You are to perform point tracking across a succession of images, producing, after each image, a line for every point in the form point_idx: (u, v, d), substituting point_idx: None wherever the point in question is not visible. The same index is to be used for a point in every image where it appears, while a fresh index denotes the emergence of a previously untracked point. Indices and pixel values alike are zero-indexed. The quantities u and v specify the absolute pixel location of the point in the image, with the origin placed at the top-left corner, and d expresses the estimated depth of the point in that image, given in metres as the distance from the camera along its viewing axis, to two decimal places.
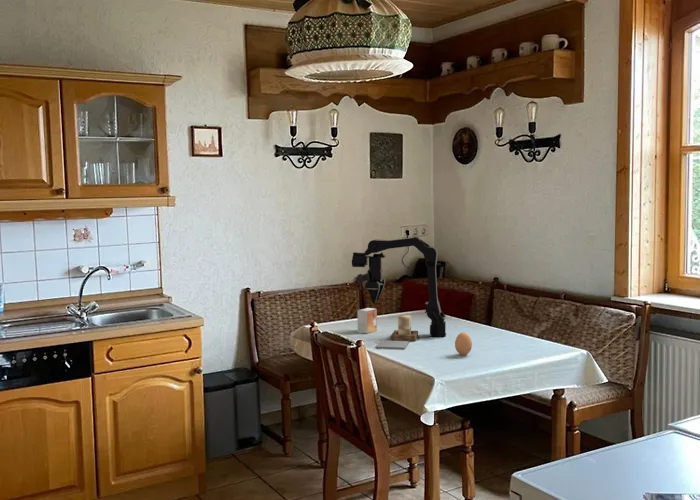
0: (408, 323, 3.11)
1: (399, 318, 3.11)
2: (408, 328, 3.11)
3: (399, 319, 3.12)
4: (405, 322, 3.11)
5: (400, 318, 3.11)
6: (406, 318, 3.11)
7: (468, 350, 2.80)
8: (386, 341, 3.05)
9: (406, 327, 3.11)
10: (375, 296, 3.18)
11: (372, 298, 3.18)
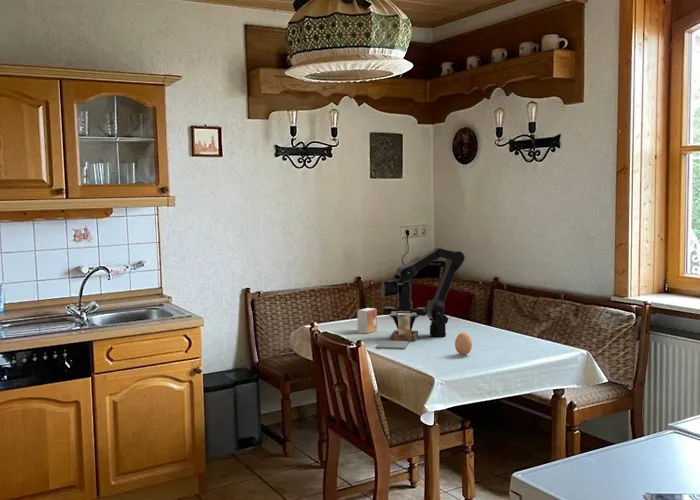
0: (408, 323, 3.11)
1: (399, 318, 3.11)
2: (408, 328, 3.11)
3: (399, 319, 3.12)
4: (405, 322, 3.11)
5: (400, 318, 3.11)
6: (406, 318, 3.11)
7: (468, 350, 2.80)
8: (386, 341, 3.05)
9: (407, 327, 3.11)
10: None
11: None
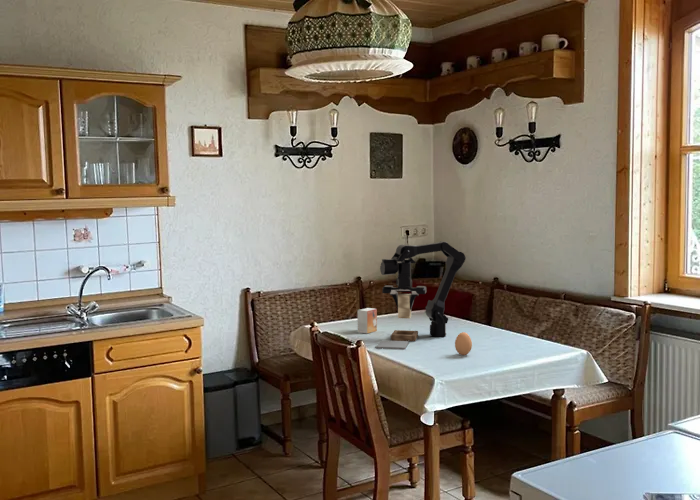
0: (408, 301, 3.10)
1: (399, 296, 3.11)
2: (408, 306, 3.10)
3: (399, 297, 3.11)
4: (405, 300, 3.10)
5: (400, 296, 3.10)
6: (406, 296, 3.10)
7: (468, 350, 2.80)
8: (386, 341, 3.05)
9: (406, 306, 3.10)
10: None
11: None
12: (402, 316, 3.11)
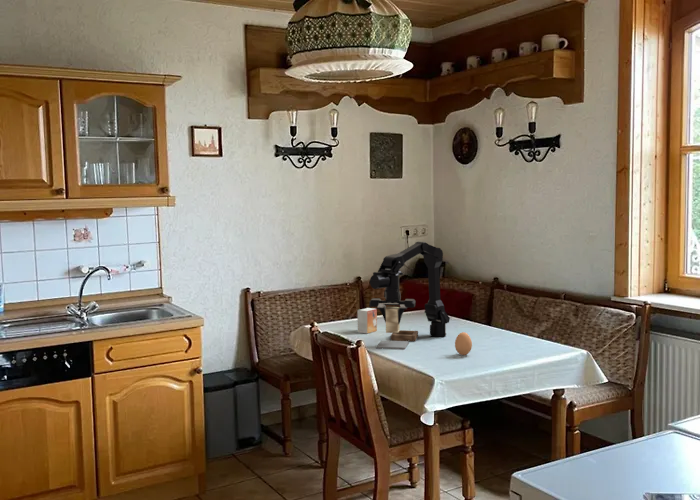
0: (396, 315, 2.96)
1: (387, 310, 2.97)
2: (396, 320, 2.97)
3: (387, 311, 2.97)
4: (393, 314, 2.97)
5: (388, 310, 2.97)
6: (394, 310, 2.96)
7: (468, 350, 2.80)
8: (386, 341, 3.05)
9: (394, 320, 2.97)
10: None
11: None
12: (390, 330, 2.98)
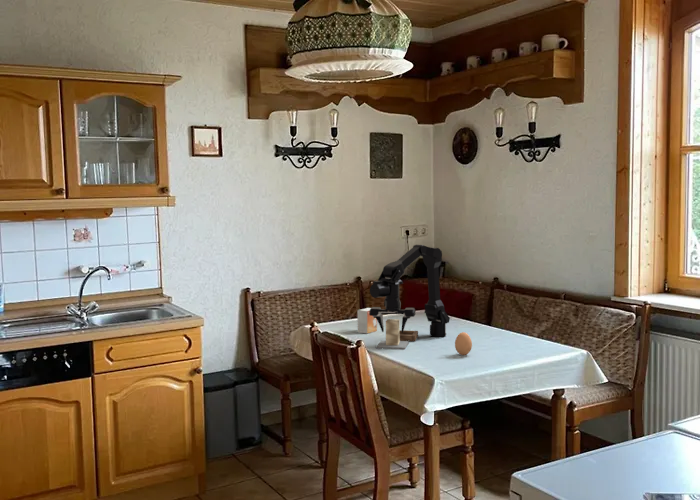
0: (396, 328, 2.97)
1: (387, 322, 2.98)
2: (396, 333, 2.97)
3: (387, 323, 2.98)
4: (393, 327, 2.97)
5: (388, 322, 2.97)
6: (394, 322, 2.97)
7: (468, 350, 2.80)
8: None
9: (394, 332, 2.97)
10: None
11: None
12: (390, 343, 2.98)
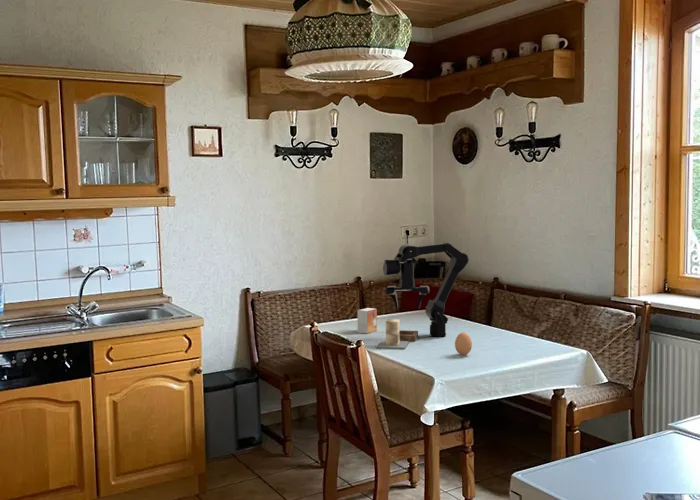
0: (396, 328, 2.97)
1: (387, 322, 2.98)
2: (396, 333, 2.97)
3: (387, 323, 2.98)
4: (393, 327, 2.97)
5: (388, 322, 2.97)
6: (394, 322, 2.97)
7: (468, 350, 2.80)
8: None
9: (394, 332, 2.97)
10: None
11: None
12: (390, 343, 2.98)
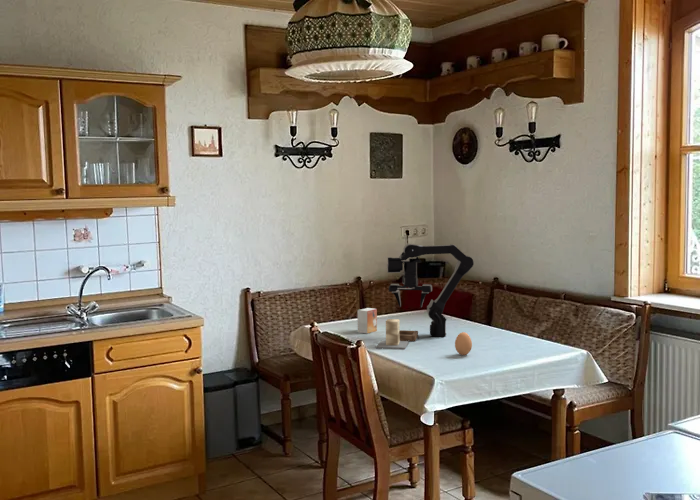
0: (396, 328, 2.97)
1: (387, 322, 2.98)
2: (396, 333, 2.97)
3: (387, 323, 2.98)
4: (393, 327, 2.97)
5: (388, 322, 2.97)
6: (394, 322, 2.97)
7: (468, 350, 2.80)
8: None
9: (394, 332, 2.97)
10: None
11: None
12: (390, 343, 2.98)
